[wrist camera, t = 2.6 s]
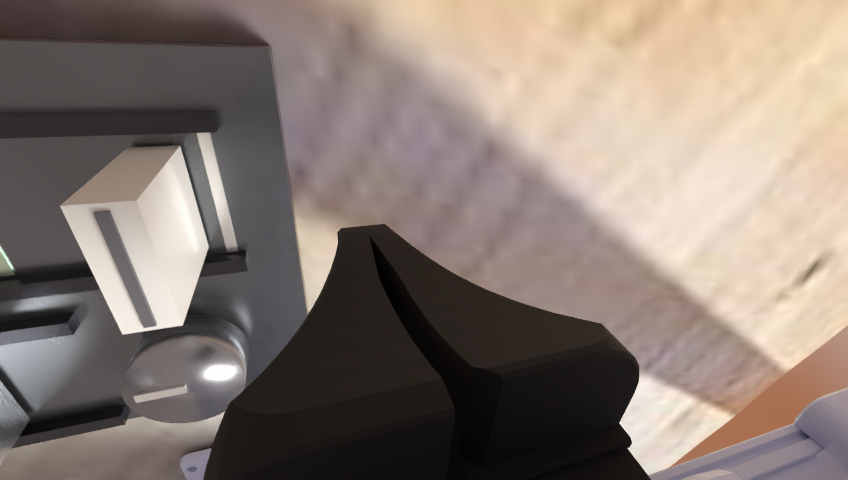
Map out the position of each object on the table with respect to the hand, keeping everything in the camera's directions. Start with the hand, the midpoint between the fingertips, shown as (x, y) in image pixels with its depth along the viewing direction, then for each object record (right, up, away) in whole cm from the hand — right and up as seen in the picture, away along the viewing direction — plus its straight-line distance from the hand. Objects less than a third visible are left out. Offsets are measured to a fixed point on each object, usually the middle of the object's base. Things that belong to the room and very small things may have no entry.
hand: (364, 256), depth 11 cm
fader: (-7, +2, +3) cm, 8 cm away
